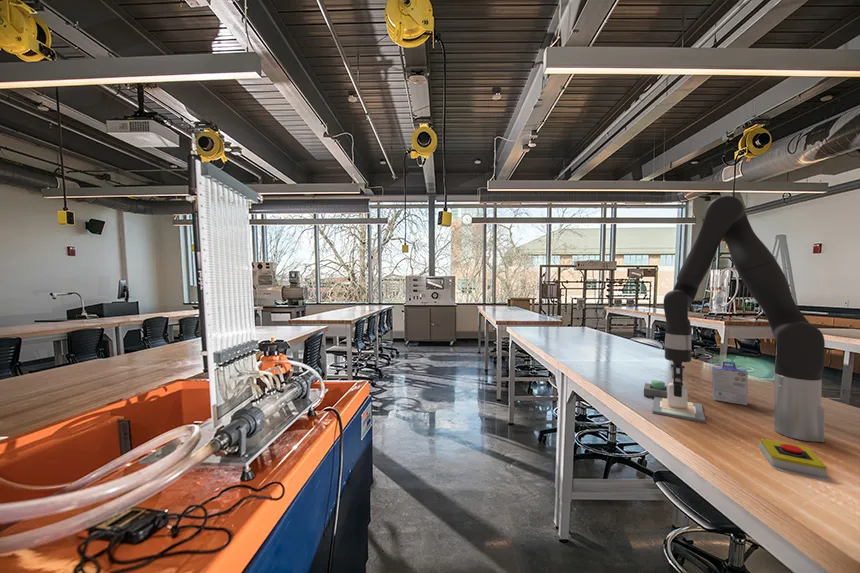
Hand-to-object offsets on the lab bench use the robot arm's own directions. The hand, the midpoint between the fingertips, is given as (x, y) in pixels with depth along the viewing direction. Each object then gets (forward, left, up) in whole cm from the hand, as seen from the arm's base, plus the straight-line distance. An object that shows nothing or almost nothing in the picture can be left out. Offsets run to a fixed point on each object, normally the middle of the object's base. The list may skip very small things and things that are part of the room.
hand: (677, 393), depth 117 cm
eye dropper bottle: (0, 0, -5) cm, 5 cm away
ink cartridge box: (-16, -22, -6) cm, 28 cm away
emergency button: (-22, +26, -6) cm, 35 cm away
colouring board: (0, 0, -6) cm, 6 cm away
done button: (+6, -14, -3) cm, 16 cm away
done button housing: (+6, -14, -6) cm, 16 cm away
